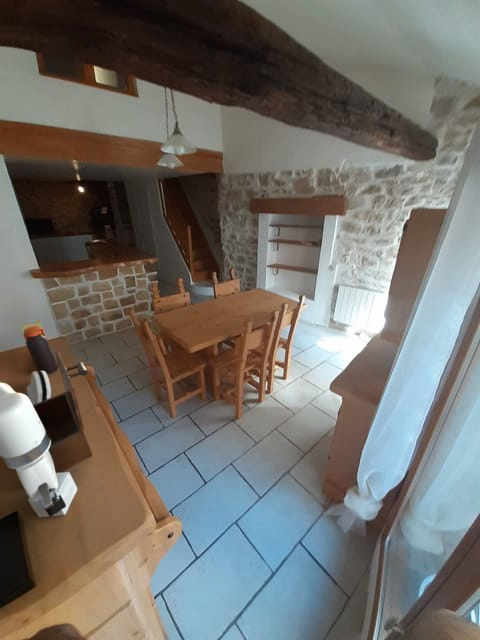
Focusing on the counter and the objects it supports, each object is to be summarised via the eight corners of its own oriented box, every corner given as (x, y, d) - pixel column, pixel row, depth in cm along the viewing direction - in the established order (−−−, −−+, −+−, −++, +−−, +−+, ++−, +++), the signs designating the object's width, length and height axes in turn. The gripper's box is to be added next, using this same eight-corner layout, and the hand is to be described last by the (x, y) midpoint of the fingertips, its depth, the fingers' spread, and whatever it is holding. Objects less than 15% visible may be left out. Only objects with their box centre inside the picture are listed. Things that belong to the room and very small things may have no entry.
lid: (69, 387, 62) (94, 379, 65) (54, 351, 76) (75, 346, 79) (80, 431, 68) (102, 421, 71) (65, 390, 82) (84, 384, 85)
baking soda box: (54, 359, 114) (42, 328, 107) (36, 364, 110) (22, 333, 103) (51, 350, 120) (39, 320, 113) (34, 355, 117) (20, 325, 109)
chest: (33, 488, 65) (18, 464, 60) (25, 435, 78) (13, 412, 74) (92, 455, 73) (83, 431, 68) (76, 412, 87) (67, 391, 82)
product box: (65, 516, 59) (55, 498, 56) (38, 518, 59) (26, 500, 55) (78, 488, 65) (69, 471, 61) (53, 490, 64) (43, 472, 61)
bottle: (60, 363, 111) (44, 323, 102) (56, 373, 105) (39, 331, 96) (41, 367, 109) (23, 326, 100) (37, 376, 103) (17, 334, 94)
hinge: (26, 390, 96) (28, 366, 94) (42, 387, 99) (43, 365, 97) (32, 415, 85) (34, 390, 83) (49, 412, 88) (52, 387, 86)
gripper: (1, 430, 56) (31, 477, 64) (5, 493, 44) (40, 541, 52) (42, 412, 60) (65, 459, 68) (55, 465, 49) (81, 513, 57)
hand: (54, 494), depth 60 cm, fingers closed on product box, 8 cm apart
